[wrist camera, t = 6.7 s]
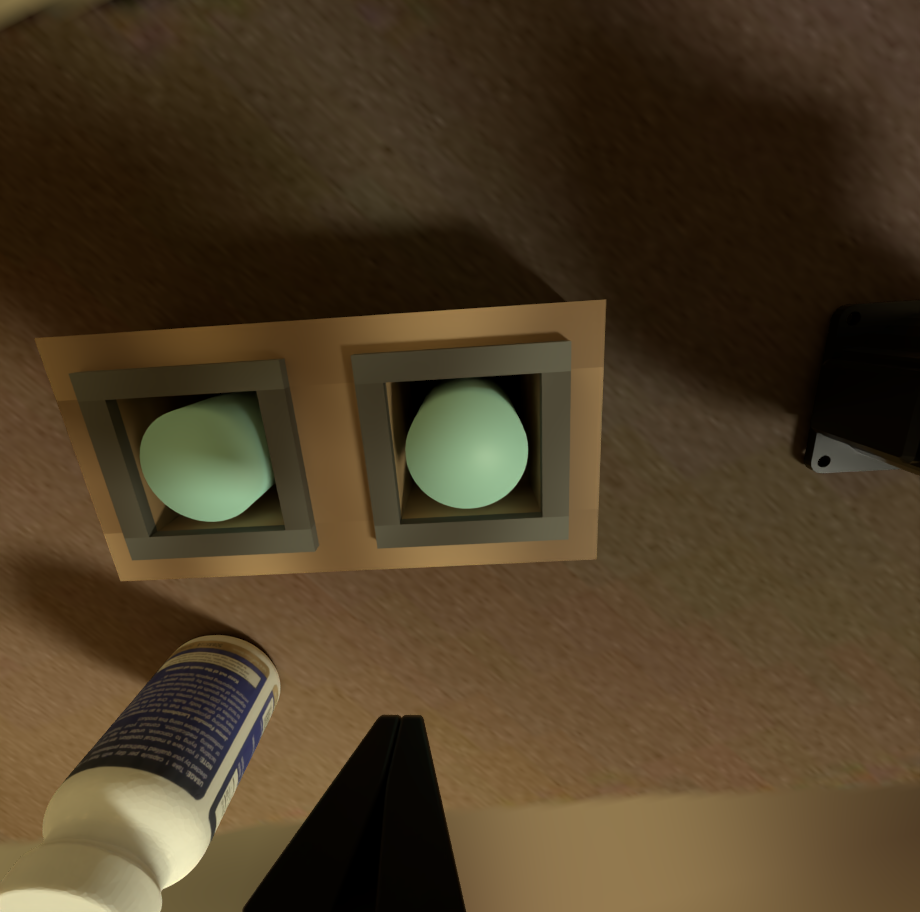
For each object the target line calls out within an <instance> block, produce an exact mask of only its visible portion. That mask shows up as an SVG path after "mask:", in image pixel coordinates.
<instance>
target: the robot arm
mask: <svg viewBox="0 0 920 912" xmlns="http://www.w3.org/2000/svg"><path fill="white" fill-rule="evenodd" d="M850 313H851V314H852V319H851V321H850V322H849V323H848V324H847V323H846V319H847V316H848V315H849V314H850ZM822 456H823V459H822V461H821V462H820V463H818V460H819V458H821V457H822ZM804 464H805V465H806V467H807V468H809V469H811V470H813V471H815V472H817V473H833V472H852V471H871V470H890V469H903V470H905V471H908V472H911V473H914V474H916V475H919V476H920V300H908V301H893V302H878V303H863V304H848V305H844V306H841V307H840V308H838V309H837V310H836V311H835V312H834V313H833V315H832V318H831V321H830V327H829V332H828V337H827V342H826V347H825V353H824V358H823V363H822V367H821V372H820V378H819V383H818V388H817V393H816V399H815V404H814V409H813V414H812V420H811V426H810V431H809V437H808V442H807V447H806V452H805V458H804ZM242 911H243V912H466V909H465V904H464V900H463V895H462V891H461V886H460V882H459V877H458V872H457V868H456V864H455V859H454V854H453V851H452V845H451V841H450V837H449V832H448V827H447V823H446V818H445V814H444V809H443V805H442V800H441V796H440V791H439V786H438V782H437V777H436V773H435V768H434V764H433V759H432V755H431V750H430V746H429V741H428V737H427V732H426V728H425V723H424V719H423V717H422V716H421V715H404V716H403V717H402V718H401V716H399V715H382V716H380V717H379V718H378V719H377V720H376V722H375V723H374V725H373V726H372V727H371V729H370V730H369V732H368V733H367V734H366V736H365V737H364V739H363V740H362V741H361V743H360V744H359V746H358V747H357V748H356V750H355V751H354V753H353V754H352V755H351V757H350V758H349V760H348V761H347V762H346V764H345V765H344V767H343V768H342V769H341V771H340V772H339V774H338V775H337V777H336V778H335V779H334V781H333V782H332V784H331V785H330V786H329V788H328V789H327V791H326V792H325V793H324V795H323V796H322V798H321V799H320V800H319V802H318V803H317V805H316V806H315V807H314V809H313V810H312V812H311V813H310V814H309V816H308V817H307V819H306V820H305V821H304V823H303V824H302V826H301V827H300V829H299V830H298V831H297V833H296V834H295V836H294V837H293V838H292V840H291V841H290V843H289V844H288V845H287V847H286V848H285V850H284V851H283V852H282V854H281V855H280V857H279V858H278V859H277V861H276V862H275V864H274V865H273V866H272V868H271V869H270V871H269V872H268V873H267V875H266V876H265V878H264V879H263V881H262V882H261V883H260V885H259V886H258V888H257V889H256V890H255V892H254V893H253V895H252V896H251V898H250V899H249V900H248V902H247V903H246V904H245V906H244V907H243V910H242Z"/></svg>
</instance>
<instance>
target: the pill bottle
mask: <svg viewBox="0 0 920 912" xmlns="http://www.w3.org/2000/svg"><path fill="white" fill-rule="evenodd" d="M279 694H280V679H279V675H278V672H277V670H276V668H275V666H274V664H273V663H272V661H271V660H270V659H269V658H268V656H267V655H266V654H265V653H264V652H262V651H261V650H260V649H258V648H257V647H256V646H254V645H252V644H251V643H249V642H246V641H244V640H242V639H239V638H235V637H231V636H225V635H208V636H202V637H198V638H195V639H193V640H190V641H188V642H186V643H185V644H183V645H182V646H180V647H179V648H178V649H177V650H176V651H175V652H174V653H173V654H172V655H171V656H170V657H169V658H168V659H167V660H166V662H165V663H164V664H163V665H162V666H161V668H160V669H159V670H158V671H157V672H156V674H155V675H154V676H153V677H152V678H151V680H150V681H149V682H148V683H147V684H146V685H145V687H144V688H143V689H142V690H141V691H140V692H139V694H138V695H137V696H136V697H135V698H134V700H133V701H132V702H131V703H130V704H129V705H128V707H127V708H126V709H125V710H124V711H123V713H122V714H121V715H120V716H119V717H118V718H117V720H116V721H115V722H114V723H113V724H112V725H111V727H110V728H109V729H108V730H107V731H106V733H105V734H104V735H103V736H102V737H101V738H100V740H99V741H98V742H97V743H96V744H95V745H94V747H93V748H92V749H91V750H90V751H89V752H88V754H87V755H86V756H85V757H84V758H83V759H82V761H81V762H80V763H79V764H78V765H77V767H76V768H75V769H74V770H73V771H72V772H71V774H70V775H69V776H68V777H67V778H66V780H65V781H64V782H63V783H62V785H61V786H60V787H59V788H58V790H57V791H56V792H55V794H54V795H53V797H52V798H51V800H50V802H49V804H48V806H47V809H46V812H45V815H44V819H43V838H44V841H43V843H42V844H41V845H39V846H37V847H36V848H34V849H32V850H30V851H28V852H27V853H25V854H24V855H22V856H21V857H20V858H19V859H18V860H17V862H16V863H15V864H14V865H13V867H12V868H11V869H10V870H9V872H8V873H7V874H6V876H5V877H4V878H3V880H2V881H1V882H0V912H160V911H161V907H162V897H161V891H162V889H163V888H166V887H168V886H170V885H173V884H174V883H175V882H178V881H179V880H181V879H182V878H183V877H185V876H186V875H187V874H188V873H189V872H190V871H191V870H192V869H193V868H194V867H195V866H196V865H197V863H198V862H199V861H200V860H201V858H202V856H203V855H204V853H205V851H206V849H207V847H208V845H209V844H210V842H211V840H212V838H213V836H214V833H215V831H216V829H217V827H218V825H219V823H220V821H221V819H222V817H223V815H224V813H225V811H226V809H227V807H228V805H229V803H230V800H231V798H232V796H233V794H234V792H235V790H236V788H237V786H238V784H239V782H240V780H241V778H242V776H243V773H244V771H245V769H246V767H247V765H248V763H249V761H250V759H251V757H252V755H253V753H254V751H255V749H256V747H257V745H258V743H259V740H260V738H261V736H262V734H263V732H264V730H265V728H266V726H267V724H268V722H269V719H270V717H271V716H272V713H273V711H274V709H275V706H276V704H277V702H278V699H279Z"/></svg>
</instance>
